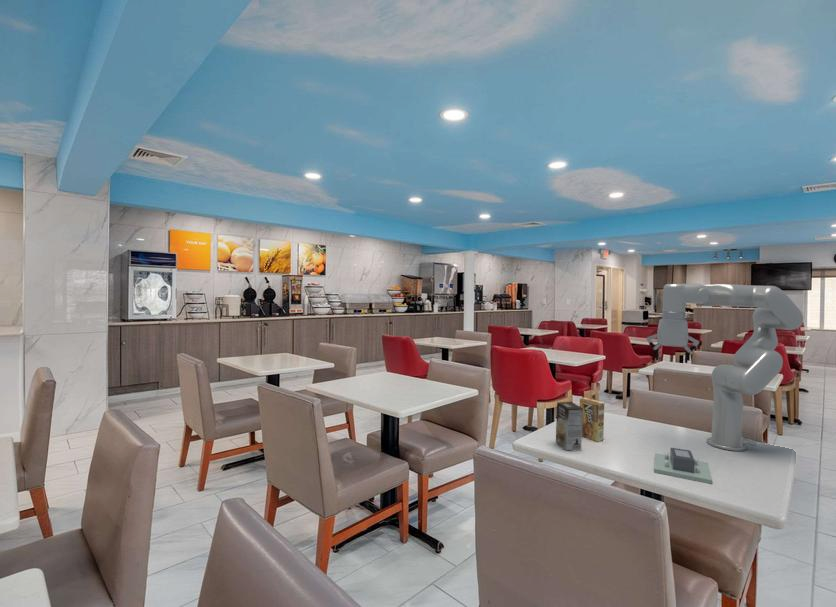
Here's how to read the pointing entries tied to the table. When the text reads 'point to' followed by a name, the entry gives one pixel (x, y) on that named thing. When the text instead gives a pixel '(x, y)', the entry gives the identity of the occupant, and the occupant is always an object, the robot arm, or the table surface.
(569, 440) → the coffee box
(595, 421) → the candy box
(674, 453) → the block
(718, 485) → the table surface
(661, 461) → the pin tray
